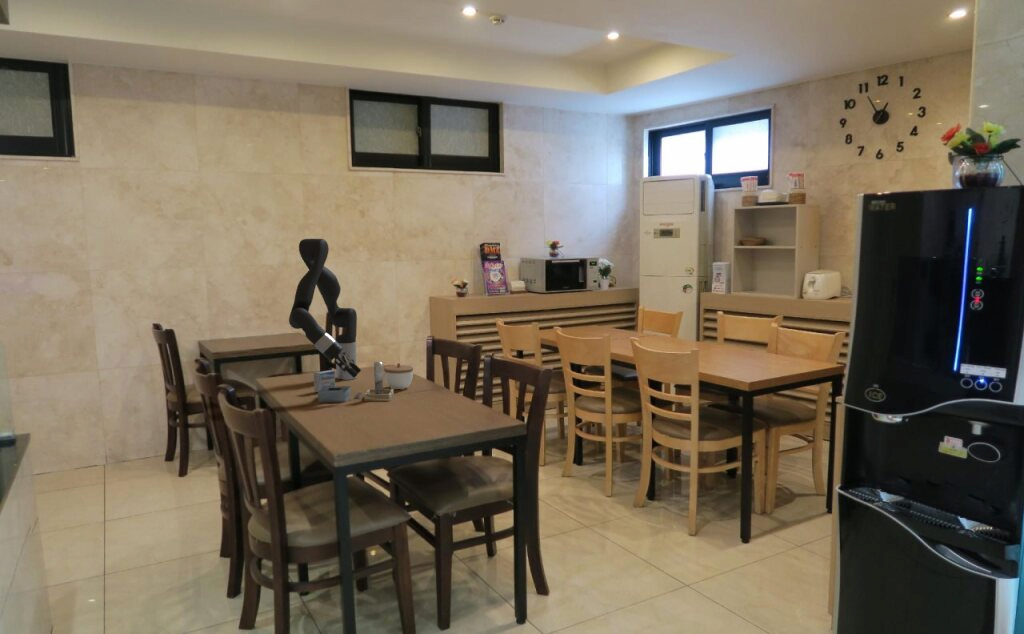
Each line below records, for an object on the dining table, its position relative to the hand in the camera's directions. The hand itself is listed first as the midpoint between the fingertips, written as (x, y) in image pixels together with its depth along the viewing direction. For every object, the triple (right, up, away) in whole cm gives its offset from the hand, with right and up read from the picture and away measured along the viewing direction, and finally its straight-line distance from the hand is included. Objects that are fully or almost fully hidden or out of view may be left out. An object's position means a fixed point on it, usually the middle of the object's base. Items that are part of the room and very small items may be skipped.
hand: (357, 374), depth 277 cm
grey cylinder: (+8, -9, +1) cm, 13 cm away
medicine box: (-17, -9, +13) cm, 23 cm away
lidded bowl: (+13, -8, +21) cm, 26 cm away
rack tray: (+9, -10, +1) cm, 13 cm away
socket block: (-9, -10, -1) cm, 14 cm away
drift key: (-1, -10, +4) cm, 11 cm away
